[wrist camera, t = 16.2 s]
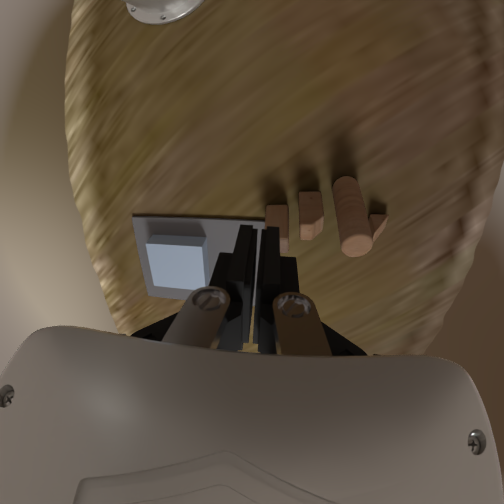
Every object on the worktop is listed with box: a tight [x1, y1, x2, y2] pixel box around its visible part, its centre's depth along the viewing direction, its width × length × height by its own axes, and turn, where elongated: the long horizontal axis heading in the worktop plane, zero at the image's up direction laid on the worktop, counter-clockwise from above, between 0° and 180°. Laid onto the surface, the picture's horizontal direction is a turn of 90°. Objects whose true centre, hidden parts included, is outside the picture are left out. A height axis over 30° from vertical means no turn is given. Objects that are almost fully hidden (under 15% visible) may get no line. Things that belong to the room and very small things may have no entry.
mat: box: [132, 216, 265, 306], centre depth 45 cm, size 16×22×1 cm
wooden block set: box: [264, 176, 389, 257], centre depth 35 cm, size 18×9×10 cm, turn 94°
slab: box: [146, 235, 210, 290], centre depth 43 cm, size 8×3×9 cm
